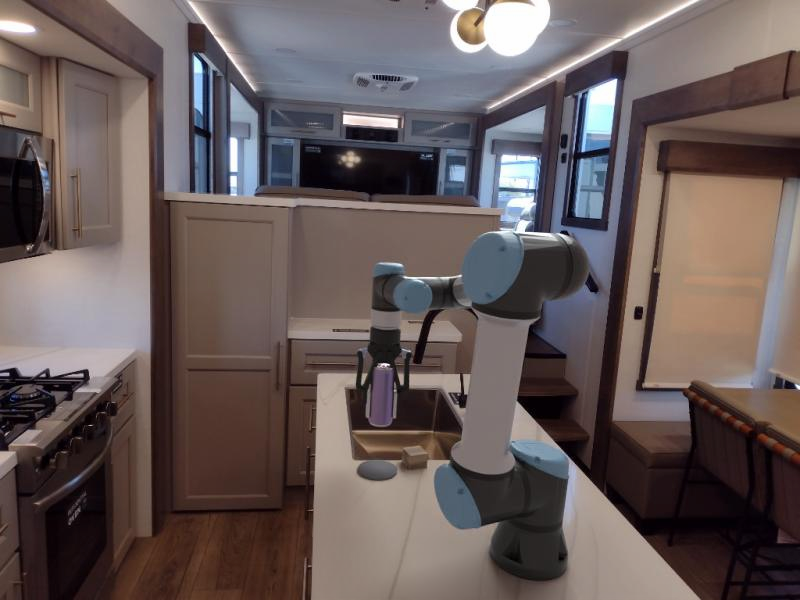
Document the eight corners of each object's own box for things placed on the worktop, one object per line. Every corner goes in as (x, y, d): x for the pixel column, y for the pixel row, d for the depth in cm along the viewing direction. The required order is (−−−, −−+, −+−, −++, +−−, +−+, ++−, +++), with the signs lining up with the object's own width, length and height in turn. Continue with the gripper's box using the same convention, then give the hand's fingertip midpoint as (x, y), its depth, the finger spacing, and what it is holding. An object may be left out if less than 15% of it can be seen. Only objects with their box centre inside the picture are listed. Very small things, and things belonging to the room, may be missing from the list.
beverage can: (391, 428, 143) (395, 369, 140) (367, 426, 143) (370, 368, 140) (392, 419, 149) (395, 362, 146) (369, 417, 149) (372, 361, 146)
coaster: (398, 480, 144) (398, 478, 143) (358, 480, 142) (358, 477, 142) (395, 462, 153) (395, 460, 153) (357, 461, 152) (357, 459, 152)
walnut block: (426, 467, 152) (427, 453, 151) (409, 470, 150) (410, 455, 149) (418, 459, 156) (419, 445, 156) (401, 461, 154) (402, 447, 154)
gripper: (422, 324, 146) (416, 411, 150) (346, 321, 144) (342, 409, 148) (426, 331, 139) (419, 422, 143) (347, 328, 137) (342, 421, 141)
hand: (380, 415), depth 145 cm, fingers closed on beverage can, 6 cm apart
